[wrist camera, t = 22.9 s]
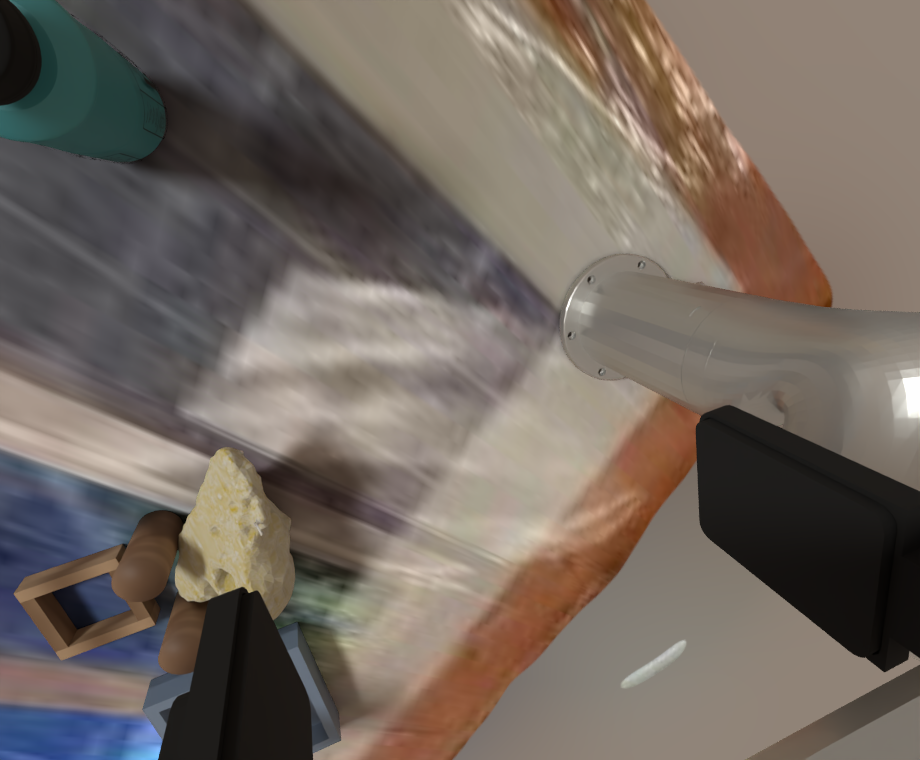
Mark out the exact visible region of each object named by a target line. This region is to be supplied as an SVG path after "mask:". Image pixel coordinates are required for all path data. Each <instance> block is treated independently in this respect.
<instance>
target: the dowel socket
mask: <svg viewBox="0 0 920 760" xmlns="http://www.w3.org/2000/svg"><path fill="white" fill-rule="evenodd" d="M125 550H126V549H125V547H124V545H123V544H121V545H118V546H115V547H112V548H109V549H106V550H103V551H100V552H97V553H95V554H92V555H89V556H86V557H83V558H80V559H77V560H74V561H71V562H68V563H65V564H63V565H60V566H57V567H54V568H51V569H48V570H45V571H42V572H39V573H36V574H33V575H30V576H28V577H25V578H24V580H23V581H22V583H21V584H20V585H19V587H18V588H17V590H16V591H15V592H14V595H15V597H16V598H17V599H18V601H19V602H20V604H21V605H22V606H23V608H24V609H25V611H26V612H27V613H28V615H29V616H30V617H31V619H32V620H33V622H34V623H35V624H36V626H37V627H38V629H39V630H40V631H41V633H42V634H43V636H44V637H45V638H46V640H47V641H48V643H49V644H50V645H51V647H52V648H53V650H54V651H55V652H56V654H57V655H58V656H59V658H60V659H61V660H64V659H67V658H69V657H72V656H75V655H77V654H80V653H82V652H85V651H88V650H90V649H93V648H96V647H98V646H101V645H104V644H106V643H109V642H112V641H114V640H117V639H120V638H122V637H125V636H128V635H130V634H133V633H135V632H138V631H141V630H143V629H146V628H149V627H151V626H154V625H156V622H157V618H158V615H159V612H160V607H159V605H158V604H157V602H156V600H155V598H153V599H151V600H148V601H143V602H131V601H127V600H126V602H127V604H128V605H129V607H130V608H131V610H129V611H127V612H124V613H121V614H119V615H116V616H113V617H110V618H108V619H105V620H102V621H100V622H97V623H94V624H91V625H89V626H86V627H83V628H81V629H78V630H77V629H76V627H75V626H74V624H73V623H72V621H71V620H70V618H69V617H68V616H67V614H66V613H65V611H64V610H63V608H62V607H61V605H60V604H59V602H58V601H57V599H56V598H55V596H54V595H53V593H52V592H53V591H56V590H59V589H62V588H64V587H67V586H70V585H73V584H76V583H79V582H82V581H84V580H87V579H90V578H93V577H96V576H99V575H101V574H104V573H107V572H109V574H110V576H111V577H112V578H113V575H114V573H115V571H116V569H117V567H118V565H119V563H120V561H121V559H122V556H123V554H124V552H125Z"/></svg>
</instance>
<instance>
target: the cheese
mask: <svg viewBox="0 0 920 760" xmlns="http://www.w3.org/2000/svg"><path fill="white" fill-rule="evenodd" d="M290 526H291V519H290V518H289V517H288V516H287V515H286V514H284V513H283V512H281V511H280V510H279V509H278V508H277V507H276V506H275V505H274V503H273V502H272V501H270V500H269V499H268V498H267V497H266V495H265V493H264V491H263V486H262V482H261V477H260V475H258V474H257V473H256V470H255V468H254V465H253V464H252V463H251V462H249V461H248V460H247V459H246V458H245V457H244V455H243V451H240V450H237V449H233V448H230V447H224V448H221V449H219V450H218V451H217V452H216V454H215V455H214V456H213V457H212V458H211V459H210V463H209V469H208V471H207V473H206V476H205V480H204V483H203V484H202V485H201V487H200V490H199V494H198V495H197V498H196V506H195V507H194V508H193V510H192V511H191V513H190V514H189V515H188V517H187V520H186V523H185V524H184V526H183V530H182V532H181V533H180V534H179V539H178V549H179V560H178V563H177V566H176V572H175V583H176V587H177V589H178V591H179V594H180V596H181V597H183V598H185V599H186V600H187V601H196V602H204V601H207V600H210V599H211V598H213V597H216V596H219V595H221V594H224V593H227V592H229V591H232V590H235V589H237V588H240V587H245V588H246V589H247V591H248V592H249V593H250V592H253V591H255V590H257V591H259V593H260V594H261V596H262V598H263V600H264V602H265V604H266V607H267V609H268V611H269V613H270V615H271V617H272V619H273V620H274V619H276V618H277V617H278V616H279V615H280V614H281V612H282V611H283V609H284V608H285V607H286V605H287V603H288V602H289V600H290V598H291V595H292V591H293V588H294V581H295V568H294V562H293V557H292V555H291V554H290V551H289V549H290V534H289V531H290Z"/></svg>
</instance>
